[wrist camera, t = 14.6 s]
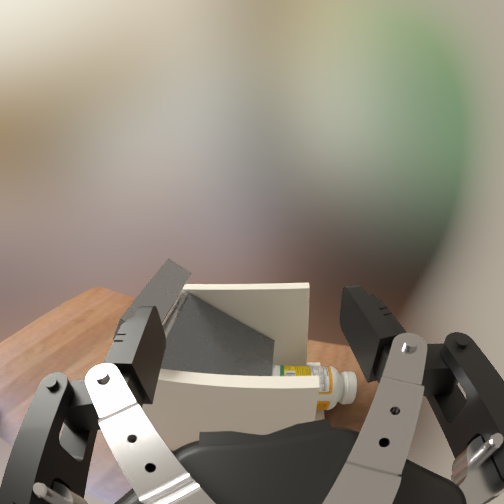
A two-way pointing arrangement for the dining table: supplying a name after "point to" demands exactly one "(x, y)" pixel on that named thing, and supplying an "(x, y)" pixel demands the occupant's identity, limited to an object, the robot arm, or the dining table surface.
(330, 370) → the supplement bottle
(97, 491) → the dining table surface
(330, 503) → the robot arm
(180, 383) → the trapdoor stand
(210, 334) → the trapdoor
